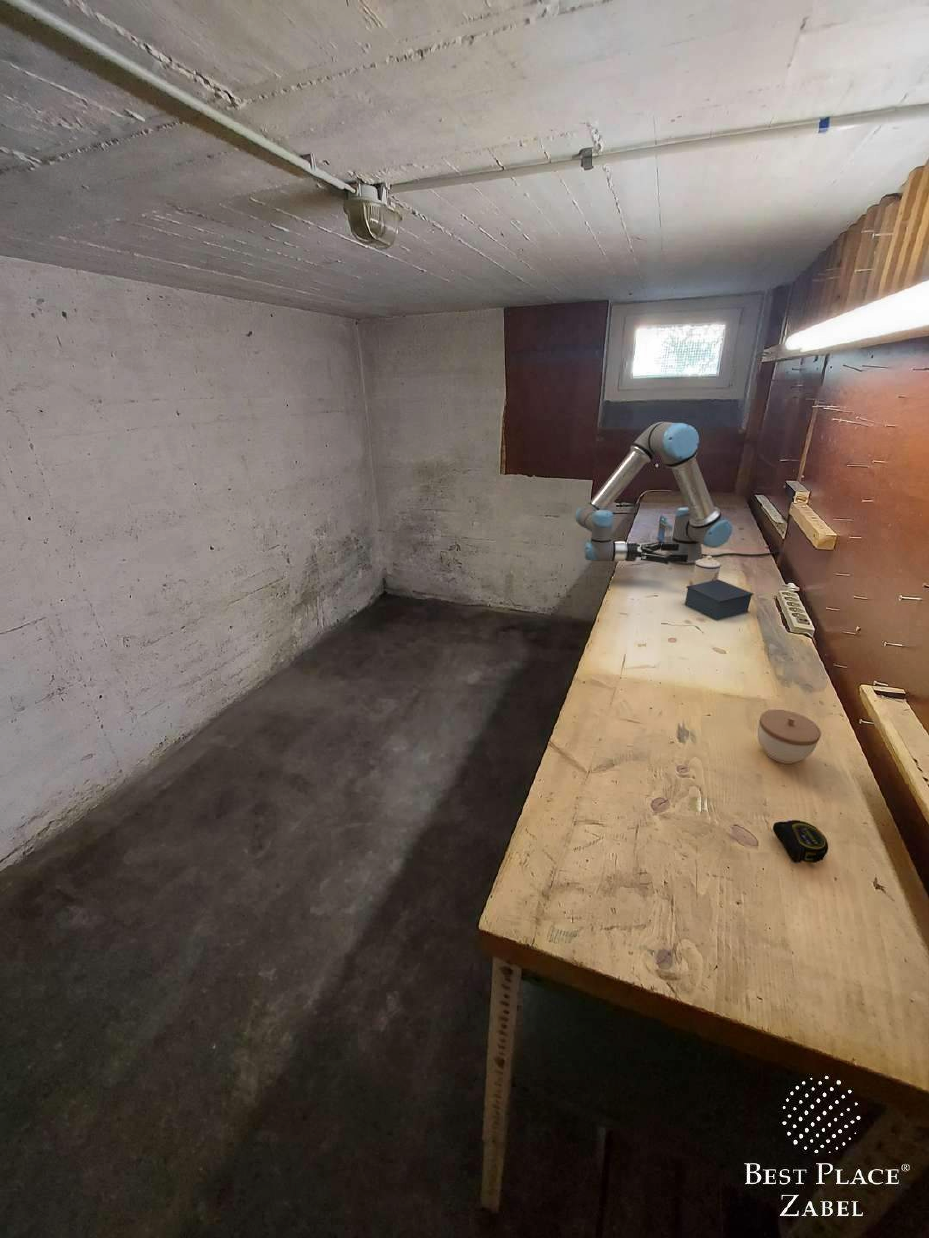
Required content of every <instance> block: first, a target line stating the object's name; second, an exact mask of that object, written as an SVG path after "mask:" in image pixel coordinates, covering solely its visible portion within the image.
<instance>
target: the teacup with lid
mask: <svg viewBox="0 0 929 1238" xmlns="http://www.w3.org/2000/svg"><path fill="white" fill-rule="evenodd" d="M721 567H722V565H721V562H720V561H719V560H715V559H714V558H713V557H712V556H705V557H703V559H699V560H696V562H695V564H694V569H693V574H692V580H691V585H696V584H700V583H705V582H709V581H714V580H719V573H720V569H721Z"/></svg>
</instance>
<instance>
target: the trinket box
mask: <svg viewBox="0 0 929 1238" xmlns="http://www.w3.org/2000/svg"><path fill="white" fill-rule="evenodd" d="M758 721H759V722H758V726H757V740H758V743H759V745H760V747H761V748H762V750H763V751H764V752H765V754H766V755H767V756H768V757H769V758H770V759H772V760H774V761H776V762H779V763H781V764H789V765H790V764H795V763H797V762H802V761H804V760H806V759H808V757H810V756H811V755H812V754H813V752H814V751H815V749H816V747H817V745H818V742H819V741H820V738H821V737H822V731H821V729H820V727H819V726H818V725H817V724H816V723H815V722H814V721H813V720H811V719H810V718H809V717H807V716H805V715H803V714H800V713H797V712H794V711H791V710H786V709H769V710H765V711H763V712H762V713H761V714H760V717H759V720H758Z"/></svg>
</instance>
